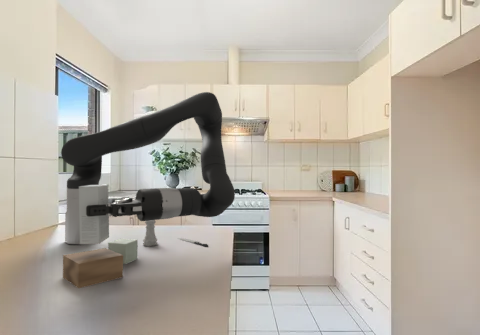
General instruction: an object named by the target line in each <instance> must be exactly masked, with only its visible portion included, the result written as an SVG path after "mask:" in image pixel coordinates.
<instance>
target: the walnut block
mask: <svg viewBox="0 0 480 335" xmlns="http://www.w3.org/2000/svg"><path fill="white" fill-rule="evenodd" d="M122 278H124V264H123V255H122V254H119V253H117V252H114V251H111V250H109V249H108V248H107V247H104V248H97V249H91V250H85V251H80V252H74V253H69V254H62V279H65V281H67V282H68V283H70V284H71V285H73V286H74V287H76V288H77V289H81V288H85V287H90V286H94V285H97V284H102V283H105V282H110V281H114V280H117V279H122Z"/></svg>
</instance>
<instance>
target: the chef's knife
mask: <svg viewBox="0 0 480 335" xmlns="http://www.w3.org/2000/svg"><path fill="white" fill-rule="evenodd" d="M177 240H180V241H184V242H187V243H189V244H190V243H191V244H195V245H197V246H201V247H204V248H209V244H207V243H202V242H200V241H198V240H197V241H196V240H193V239H186V238H182V237H178V238H177Z"/></svg>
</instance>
